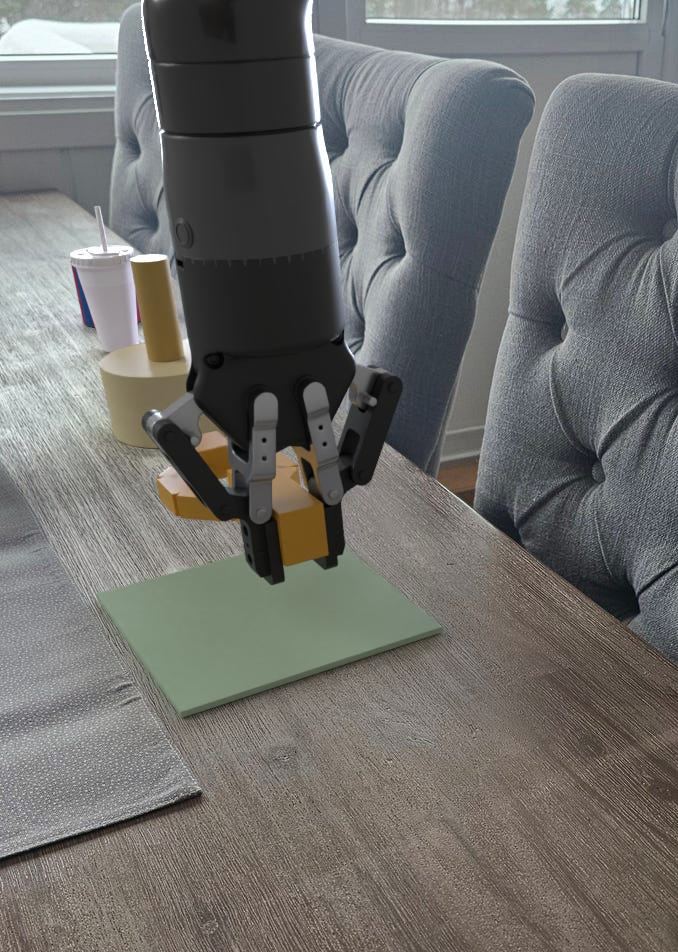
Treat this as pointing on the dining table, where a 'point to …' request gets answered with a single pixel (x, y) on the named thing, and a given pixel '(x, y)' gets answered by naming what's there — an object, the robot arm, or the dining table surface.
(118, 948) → the dining table surface
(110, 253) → the smoothie
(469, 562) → the dining table surface
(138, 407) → the stand
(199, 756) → the dining table surface
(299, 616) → the mat
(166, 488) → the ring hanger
